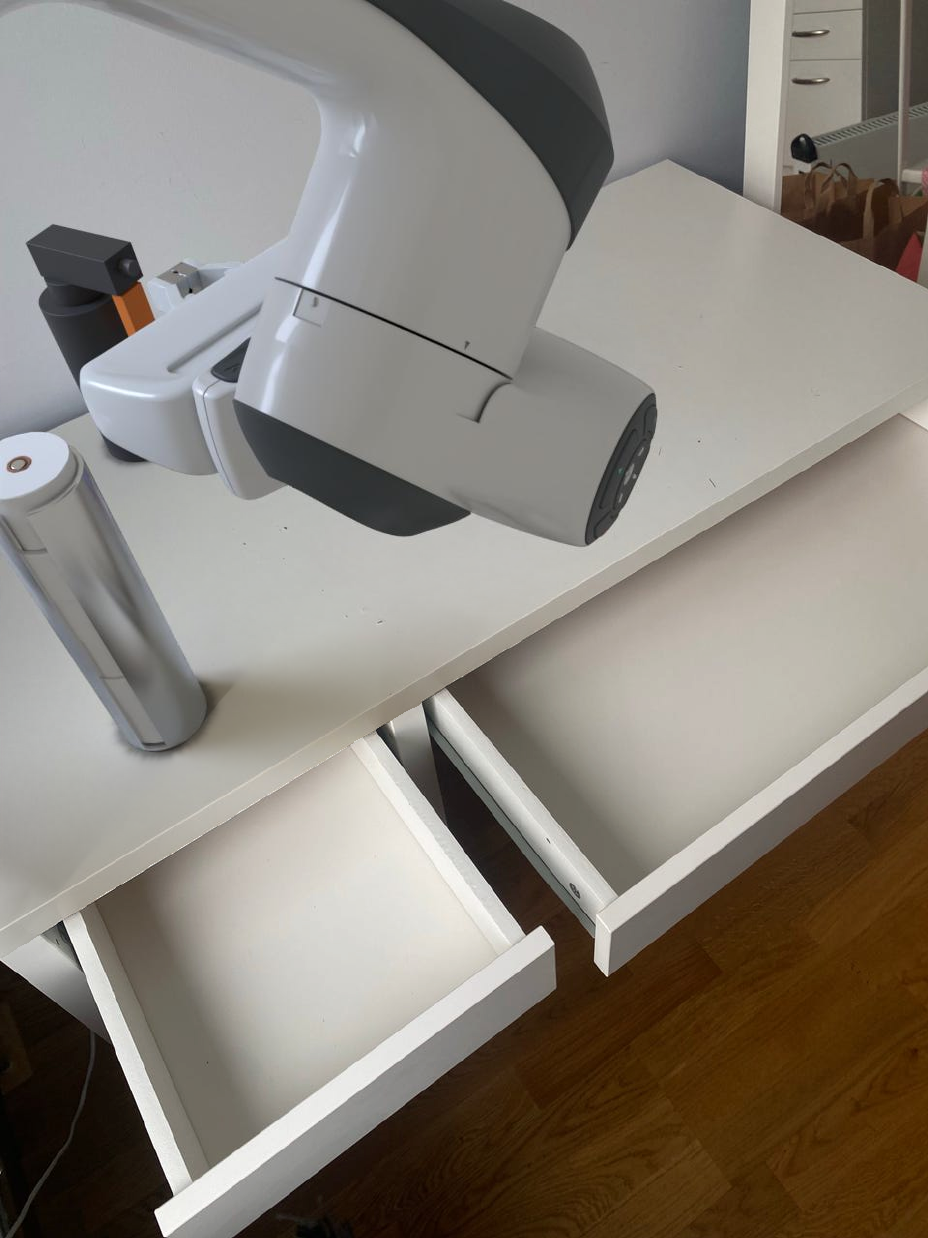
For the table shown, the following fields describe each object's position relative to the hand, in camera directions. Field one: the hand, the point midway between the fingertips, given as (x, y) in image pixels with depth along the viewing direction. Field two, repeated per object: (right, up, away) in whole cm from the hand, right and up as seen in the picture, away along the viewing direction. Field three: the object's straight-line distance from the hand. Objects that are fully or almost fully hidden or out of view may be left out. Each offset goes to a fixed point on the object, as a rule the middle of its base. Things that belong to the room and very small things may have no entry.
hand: (169, 282), depth 53 cm
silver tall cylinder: (-6, -26, +18) cm, 33 cm away
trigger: (-11, +5, +28) cm, 30 cm away
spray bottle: (-13, -2, +39) cm, 41 cm away
